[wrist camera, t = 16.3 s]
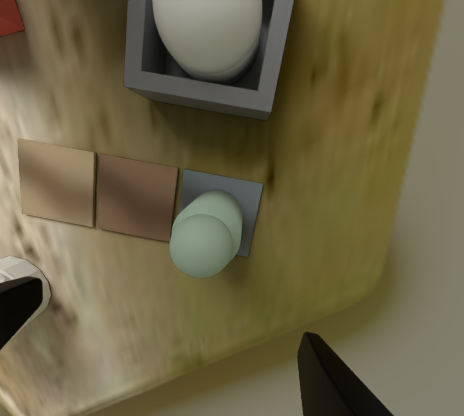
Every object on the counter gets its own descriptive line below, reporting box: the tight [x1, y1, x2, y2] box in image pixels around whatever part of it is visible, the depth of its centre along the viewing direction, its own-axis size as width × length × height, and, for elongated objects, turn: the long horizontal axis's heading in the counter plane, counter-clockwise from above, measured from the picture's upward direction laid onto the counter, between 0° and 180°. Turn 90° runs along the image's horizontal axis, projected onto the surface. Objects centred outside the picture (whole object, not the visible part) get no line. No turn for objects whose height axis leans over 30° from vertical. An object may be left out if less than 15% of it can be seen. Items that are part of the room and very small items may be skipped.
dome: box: [152, 0, 262, 86], centre depth 13 cm, size 6×6×6 cm
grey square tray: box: [124, 0, 294, 120], centre depth 15 cm, size 9×9×4 cm
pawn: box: [169, 189, 243, 278], centre depth 15 cm, size 4×4×8 cm
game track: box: [17, 139, 263, 257], centre depth 20 cm, size 6×20×1 cm, turn 80°
